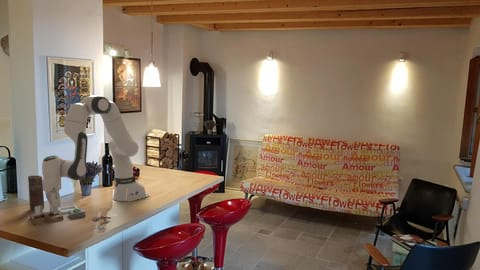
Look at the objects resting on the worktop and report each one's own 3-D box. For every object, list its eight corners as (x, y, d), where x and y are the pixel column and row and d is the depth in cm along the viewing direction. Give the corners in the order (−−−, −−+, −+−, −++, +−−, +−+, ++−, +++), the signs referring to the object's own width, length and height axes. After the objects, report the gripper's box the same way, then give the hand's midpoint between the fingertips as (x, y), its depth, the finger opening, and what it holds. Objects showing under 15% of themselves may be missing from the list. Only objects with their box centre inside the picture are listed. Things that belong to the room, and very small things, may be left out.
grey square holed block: (82, 213, 208) (82, 208, 207) (85, 216, 202) (85, 211, 202) (68, 215, 203) (68, 210, 203) (71, 219, 198) (71, 214, 198)
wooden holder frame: (58, 213, 206) (58, 209, 205) (63, 220, 196) (63, 216, 196) (30, 219, 197) (30, 214, 197) (33, 226, 188) (33, 221, 188)
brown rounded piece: (31, 208, 214) (29, 174, 212) (45, 206, 217) (43, 173, 214) (28, 212, 207) (26, 178, 205) (43, 211, 210) (41, 177, 207)
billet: (56, 216, 201) (56, 202, 200) (58, 218, 199) (57, 204, 198) (49, 218, 199) (48, 203, 198) (50, 220, 196) (50, 205, 195)
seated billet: (42, 219, 197) (41, 205, 196) (43, 221, 194) (43, 206, 193) (35, 220, 195) (34, 206, 194) (36, 222, 192) (35, 208, 191)
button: (79, 212, 205) (78, 207, 204) (80, 213, 202) (80, 208, 202) (73, 213, 203) (73, 208, 202) (74, 214, 201) (74, 209, 200)
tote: (75, 207, 216) (75, 205, 216) (78, 211, 210) (78, 209, 210) (58, 210, 211) (58, 208, 211) (61, 214, 204) (61, 212, 204)
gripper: (63, 189, 190) (64, 215, 192) (55, 181, 206) (56, 205, 208) (49, 191, 186) (51, 218, 188) (42, 183, 203) (43, 207, 204)
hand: (53, 211), depth 198 cm, fingers open, 8 cm apart
